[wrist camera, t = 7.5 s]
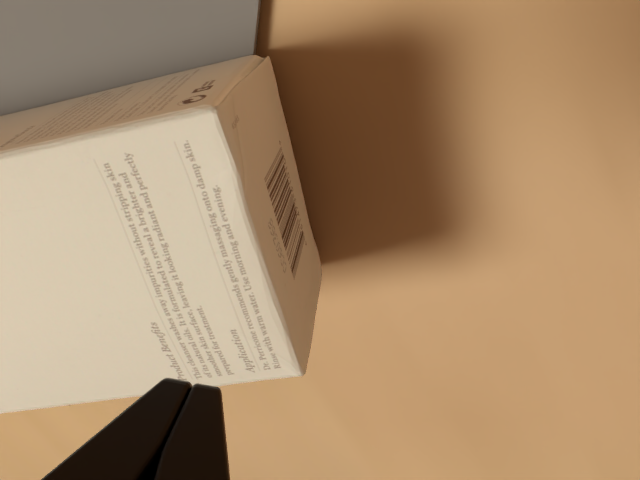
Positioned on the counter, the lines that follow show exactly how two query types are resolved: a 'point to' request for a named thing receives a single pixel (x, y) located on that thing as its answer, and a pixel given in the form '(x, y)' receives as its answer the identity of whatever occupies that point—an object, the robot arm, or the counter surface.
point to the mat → (113, 44)
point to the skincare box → (153, 240)
